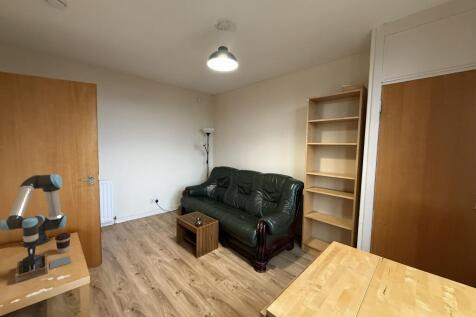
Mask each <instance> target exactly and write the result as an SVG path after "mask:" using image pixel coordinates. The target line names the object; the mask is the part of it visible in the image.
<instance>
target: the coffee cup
mask: <svg viewBox="0 0 476 317" xmlns="http://www.w3.org/2000/svg"><path fill="white" fill-rule="evenodd" d="M70 237H71V233H69V232H60V233H59V234H57V235H56V236H55V237H54V240H55V245H56V249H57V253H58V254H65V253H67V252H68V251H70V242H71V239H70Z"/></svg>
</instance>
